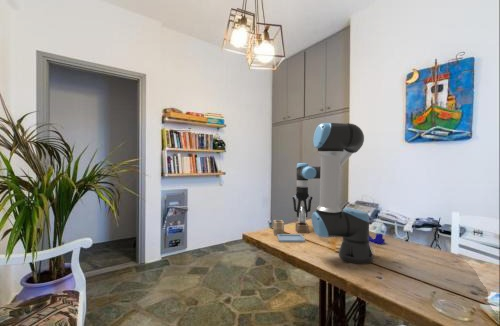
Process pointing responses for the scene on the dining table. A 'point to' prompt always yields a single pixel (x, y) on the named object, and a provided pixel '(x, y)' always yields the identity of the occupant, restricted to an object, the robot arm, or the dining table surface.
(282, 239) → the tray
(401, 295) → the dining table surface
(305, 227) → the brown hollow block
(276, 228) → the block
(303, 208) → the silver metal rod
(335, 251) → the dining table surface
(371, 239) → the cable clip
